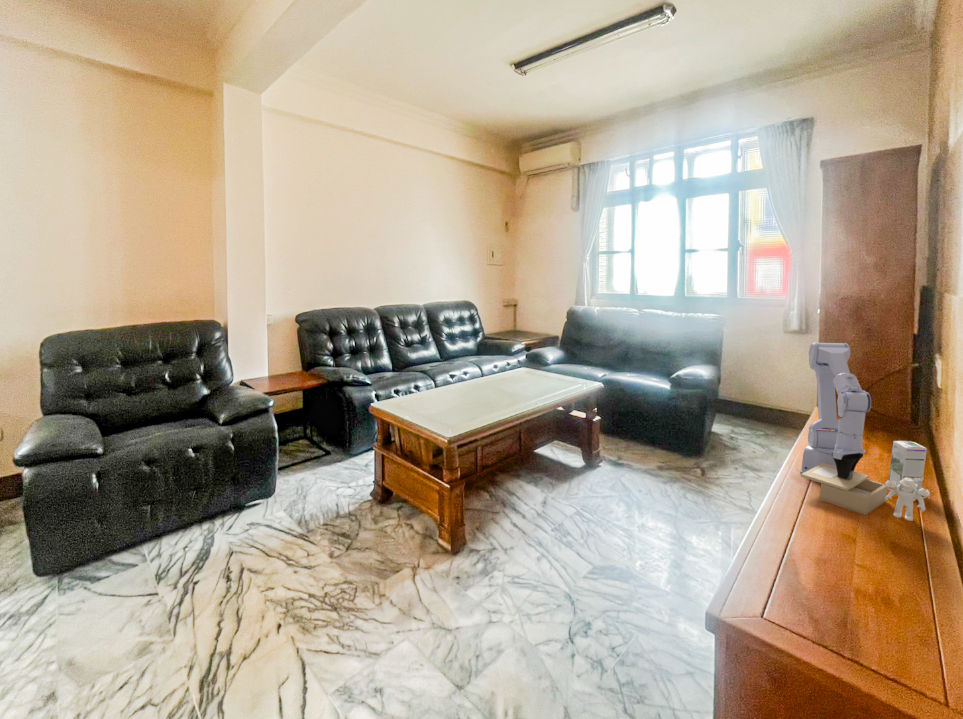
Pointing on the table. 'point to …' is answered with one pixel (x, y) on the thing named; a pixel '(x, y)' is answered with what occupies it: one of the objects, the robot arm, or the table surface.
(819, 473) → the mailer lid
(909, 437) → the table surface
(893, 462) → the syrup box
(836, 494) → the mailer box
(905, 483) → the blocky character figurine
